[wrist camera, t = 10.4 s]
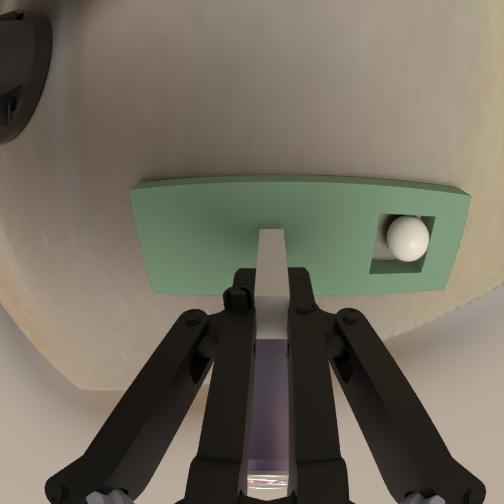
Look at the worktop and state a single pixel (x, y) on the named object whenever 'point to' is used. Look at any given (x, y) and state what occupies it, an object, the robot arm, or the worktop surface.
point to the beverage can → (270, 417)
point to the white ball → (407, 238)
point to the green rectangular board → (292, 230)
